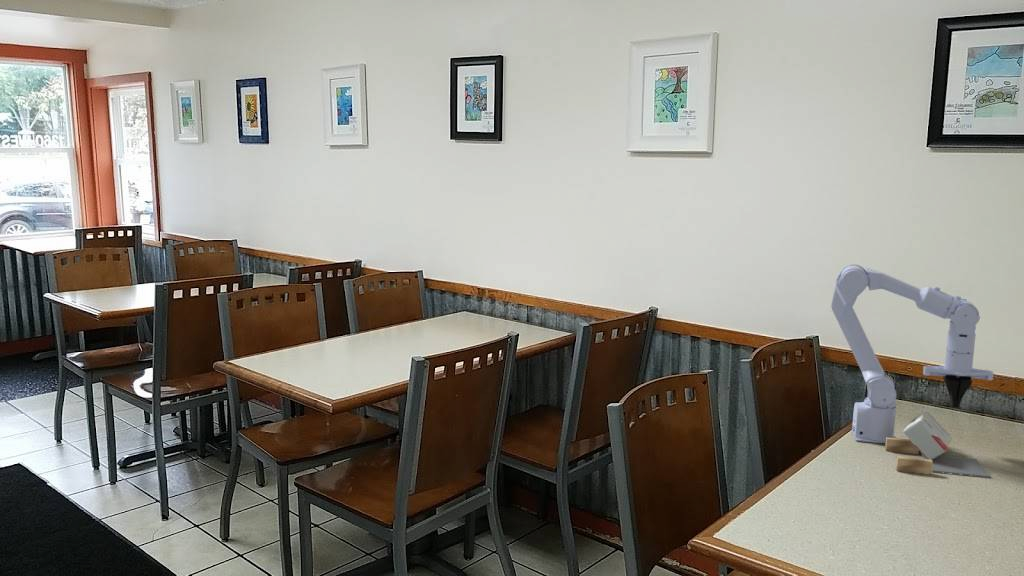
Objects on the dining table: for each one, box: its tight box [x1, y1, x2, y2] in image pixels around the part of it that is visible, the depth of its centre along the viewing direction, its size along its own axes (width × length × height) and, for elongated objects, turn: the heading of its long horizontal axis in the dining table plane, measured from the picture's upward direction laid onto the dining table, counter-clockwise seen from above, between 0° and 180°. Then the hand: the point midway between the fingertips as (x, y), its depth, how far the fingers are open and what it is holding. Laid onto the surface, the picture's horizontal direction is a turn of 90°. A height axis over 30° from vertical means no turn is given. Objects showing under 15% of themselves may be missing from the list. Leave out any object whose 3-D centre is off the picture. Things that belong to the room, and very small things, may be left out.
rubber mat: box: [920, 452, 992, 479], centre depth 177 cm, size 12×11×1 cm
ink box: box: [902, 409, 952, 460], centre depth 183 cm, size 9×5×12 cm
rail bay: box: [884, 437, 933, 475], centre depth 179 cm, size 7×14×3 cm, turn 164°
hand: (954, 406), depth 187 cm, fingers closed
